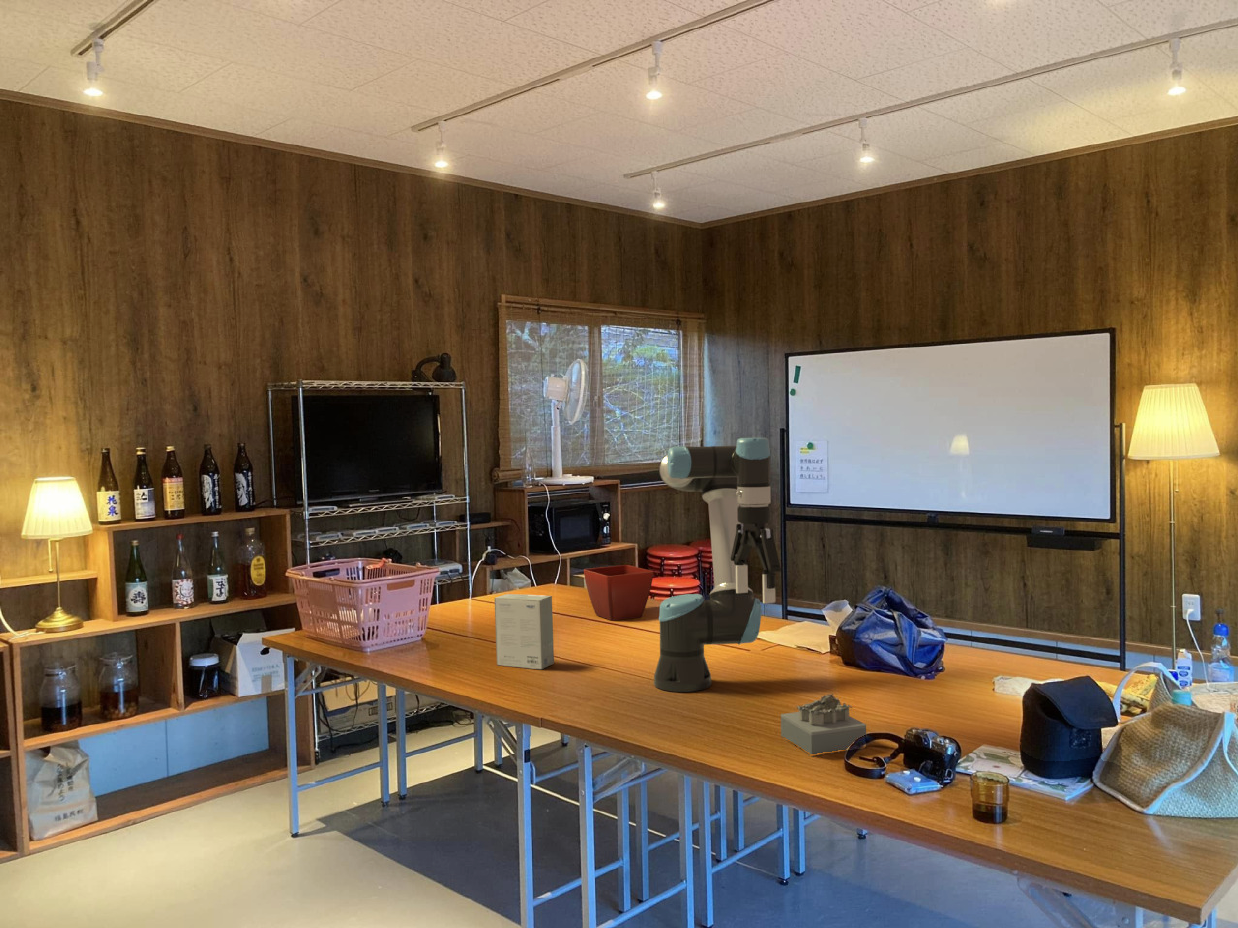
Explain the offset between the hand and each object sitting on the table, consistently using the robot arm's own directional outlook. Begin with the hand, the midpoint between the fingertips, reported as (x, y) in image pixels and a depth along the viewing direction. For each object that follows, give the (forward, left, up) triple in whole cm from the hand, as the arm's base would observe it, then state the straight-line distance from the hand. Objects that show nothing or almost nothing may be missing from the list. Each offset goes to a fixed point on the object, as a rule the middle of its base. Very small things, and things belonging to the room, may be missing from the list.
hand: (755, 597), depth 214 cm
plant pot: (-126, +9, -29) cm, 130 cm away
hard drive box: (-72, -38, -29) cm, 86 cm away
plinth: (+18, +6, -29) cm, 34 cm away
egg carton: (+18, +7, -24) cm, 31 cm away
